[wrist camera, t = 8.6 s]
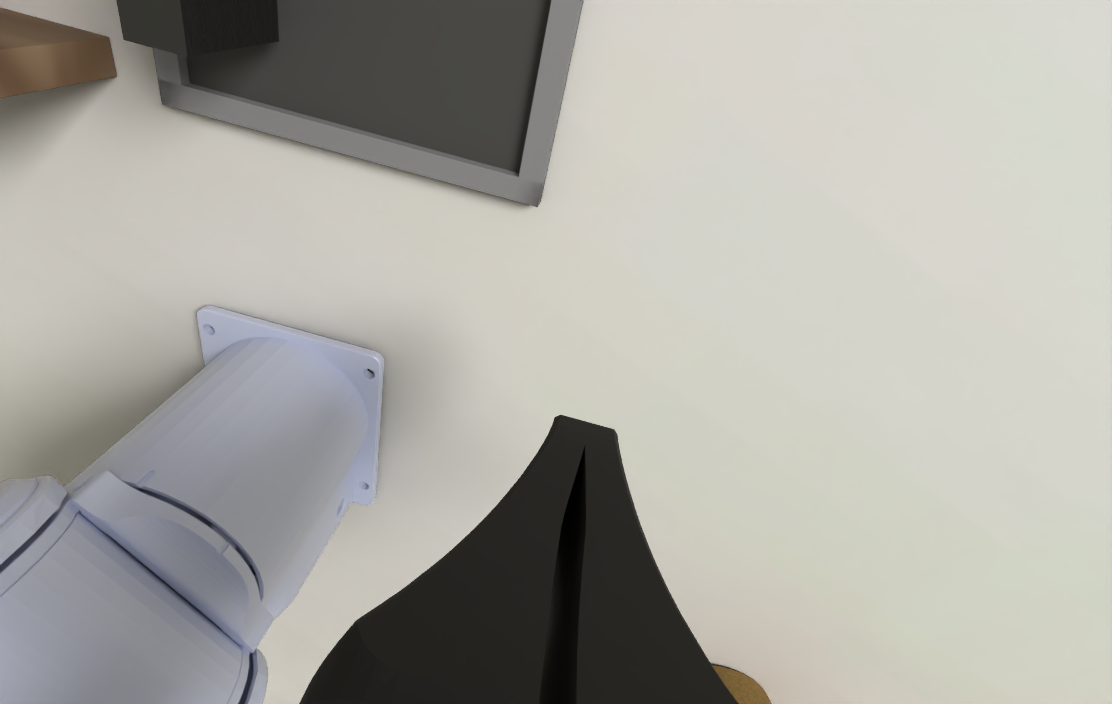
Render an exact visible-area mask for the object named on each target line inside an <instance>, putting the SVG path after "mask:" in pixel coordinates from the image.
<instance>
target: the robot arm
mask: <svg viewBox="0 0 1112 704" xmlns="http://www.w3.org/2000/svg"><path fill="white" fill-rule="evenodd" d="M197 321H198V328H199V334H200V340H201V347H202V353H203V359H204V366H205V368H203V369H202V370H201V371H200V372H199V373H198V374H196V375H195V376H194V377H193V378H192V379H190V380H189V381H188V382H187V383H186V384H185V385H183V386H182V387H181V388H180V389H179V390H178V391H176V392H175V393H174V394H173V395H172V396H171V397H169V398H168V399H167V400H166V401H165V402H163V403H162V404H161V405H160V406H159V407H158V408H156V409H155V410H154V411H153V412H152V413H151V414H149V415H148V416H147V417H146V418H145V419H144V420H142V421H141V422H140V423H139V424H138V425H136V426H135V427H134V428H133V429H132V430H131V431H129V432H128V433H127V434H126V435H125V436H124V437H122V438H121V439H120V440H119V441H118V442H117V443H115V444H114V445H113V446H112V447H111V448H110V449H108V450H107V451H106V452H105V453H104V454H102V455H101V456H100V457H99V458H98V459H97V460H95V461H94V462H93V463H92V464H91V465H90V466H88V467H87V468H86V469H85V470H84V471H83V472H81V473H80V474H79V475H78V476H77V477H75V478H74V479H73V480H72V481H71V482H70V483H68V484H67V485H65V486H62V485H61V484H60V483H59V482H58V481H57V480H56V479H55V478H53V477H51V476H39V477H36V478H15V479H8V480H5V481H3V482H0V704H262V703H263V700H264V697H265V693H266V687H267V682H268V667H267V662H266V659H265V657H264V656H263V654H262V653H261V651H260V650H258V649H257V646H258V645H259V643H260V641H261V640H262V638H263V636H264V635H265V633H266V631H267V630H268V628H269V627H270V625H271V623H272V622H273V620H274V619H275V618H276V617H278V616H279V615H280V614H281V613H282V612H283V611H284V610H285V609H286V608H287V607H288V606H289V605H290V604H291V602H292V601H293V600H294V598H295V597H296V595H297V594H298V592H299V590H300V589H301V587H302V585H303V584H304V582H305V580H306V578H307V577H308V575H309V573H310V572H311V570H312V568H313V567H314V565H315V563H316V562H317V560H318V558H319V557H320V555H321V553H322V552H323V550H324V548H325V546H326V545H327V543H328V541H329V540H330V538H331V536H332V535H333V533H334V531H335V530H336V528H337V526H338V525H339V523H340V521H341V520H342V518H343V516H344V514H345V513H346V511H347V509H348V508H349V506H350V504H351V503H352V502H353V503H357V504H360V505H365V506H368V505H371V504H373V502H374V500H375V498H376V487H377V471H378V455H379V439H380V423H381V407H382V391H383V375H384V359H383V358H382V356H381V355H380V354H379V353H378V352H375V351H373V350H369V349H366V348H362V347H359V346H355V345H351V344H348V343H344V342H341V341H337V340H333V339H330V338H326V337H322V336H319V335H315V334H312V333H308V332H304V331H301V330H297V329H294V328H290V327H286V326H283V325H279V324H275V323H272V322H268V321H265V320H261V319H257V318H254V317H250V316H246V315H243V314H239V313H236V312H232V311H228V310H225V309H221V308H218V307H214V306H209V305H207V306H204V307H202V308H201V309H200V310H199V311H198V312H197ZM210 326H212V327H213V328H214V329H212V328H211V327H210ZM367 369H370V370H372V371H373V372H374V374H372V373H370V372H369V371H368V370H367ZM299 704H739V703H738V702H737V701H736V699H735V698H734V697H733V695H732V694H731V693H730V691H729V690H728V689H727V687H726V686H725V684H724V683H723V681H722V680H721V678H720V677H719V675H718V674H717V672H716V671H715V669H714V668H713V666H712V665H711V663H710V662H709V660H708V659H707V657H706V655H705V654H704V652H703V650H702V649H701V647H700V645H699V644H698V642H697V640H696V639H695V637H694V635H693V633H692V632H691V630H690V628H689V627H688V625H687V623H686V622H685V620H684V618H683V616H682V615H681V613H680V611H679V609H678V607H677V605H676V604H675V602H674V600H673V598H672V596H671V594H670V592H669V590H668V588H667V586H666V584H665V582H664V580H663V577H662V575H661V573H660V571H659V569H658V567H657V565H656V562H655V560H654V558H653V555H652V553H651V550H650V548H649V546H648V543H647V540H646V538H645V535H644V533H643V530H642V527H641V525H640V522H639V519H638V516H637V513H636V510H635V507H634V503H633V500H632V497H631V494H630V491H629V487H628V484H627V480H626V476H625V472H624V468H623V464H622V459H621V455H620V450H619V444H618V436H617V433H616V432H615V430H614V429H611V428H607V427H603V426H600V425H596V424H592V423H589V422H585V421H581V420H578V419H574V418H570V417H567V416H563V415H559V416H557V417H555V418H554V422H553V425H552V427H551V429H550V431H549V434H548V435H547V437H546V439H545V441H544V443H543V444H542V446H541V448H540V449H539V451H538V453H537V454H536V456H535V457H534V458H533V460H532V461H531V463H530V464H529V466H528V467H527V468H526V470H525V471H524V473H523V474H522V475H521V477H520V478H519V479H518V480H517V482H516V483H515V484H514V485H513V487H512V488H511V489H510V490H509V491H508V493H507V494H506V495H505V496H504V497H503V499H502V500H501V501H500V502H499V503H498V504H497V506H496V507H495V508H494V509H493V510H492V511H491V512H490V513H489V514H488V515H487V516H486V517H485V518H484V519H483V520H482V521H481V522H480V523H479V524H478V525H477V527H476V528H475V529H474V530H472V531H471V532H470V533H469V534H468V535H467V536H466V537H465V538H464V539H463V540H462V541H461V542H460V543H459V544H457V545H456V546H455V547H454V548H453V549H452V550H451V551H450V552H449V553H447V554H446V555H445V556H444V557H443V558H442V559H440V560H439V561H438V562H437V563H436V564H434V565H433V566H432V567H430V568H429V569H428V570H427V571H425V572H424V573H423V574H421V575H420V576H419V577H418V578H416V579H415V580H414V581H413V582H411V583H410V584H409V585H407V586H406V587H405V588H403V589H402V590H401V591H399V592H398V593H396V594H395V595H393V596H392V597H390V598H389V599H388V600H386V601H385V602H383V603H382V604H380V605H379V606H377V607H376V608H374V609H373V610H371V611H370V612H368V613H367V614H365V615H364V616H362V617H361V618H359V619H358V620H356V621H355V623H354V624H353V625H352V626H351V627H350V628H349V630H348V631H347V632H346V633H345V634H344V636H343V637H342V638H341V639H340V640H339V641H338V643H337V644H336V645H335V647H334V648H333V649H332V650H331V652H330V653H329V654H328V656H327V657H326V658H325V660H324V661H323V663H322V664H321V666H320V667H319V669H318V670H317V672H316V674H315V675H314V677H313V678H312V680H311V682H310V684H309V685H308V687H307V689H306V691H305V693H304V695H303V697H302V699H301V701H300V703H299Z"/></svg>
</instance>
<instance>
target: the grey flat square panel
mask: <svg viewBox="0 0 1112 704" xmlns="http://www.w3.org/2000/svg"><path fill="white" fill-rule="evenodd" d="M582 5H583V0H277V9H278V30H279V42H273V43H267V44H261V45H255V46H249V47H243V48H238V49H232V50H226V51H220V52H214V53H208V54H203V55H197V56H191V57H185V56H182V55H178V54H174V53H171V52H167V51H163V50H160V49H156V48H153V52H154V58H155V64H156V70H157V77H158V83H159V89H160V95H161V102H162V104H163V105H166V106H170V107H174V108H177V109H181V110H185V111H188V112H192V113H196V114H199V115H203V116H207V117H210V118H214V119H218V120H221V121H225V122H229V123H232V124H236V125H239V126H243V127H247V128H250V129H254V130H258V131H261V132H265V133H269V134H272V135H276V136H280V137H283V138H287V139H291V140H294V141H298V142H302V143H305V144H309V145H313V146H316V147H320V148H324V149H327V150H331V151H334V152H338V153H342V154H345V155H349V156H353V157H356V158H360V159H364V160H367V161H371V162H375V163H378V164H382V165H386V166H389V167H393V168H397V169H400V170H404V171H408V172H411V173H415V174H419V175H422V176H426V177H429V178H433V179H437V180H440V181H444V182H448V183H451V184H455V185H459V186H462V187H466V188H470V189H473V190H477V191H481V192H484V193H488V194H492V195H495V196H499V197H503V198H506V199H510V200H514V201H517V202H521V203H524V204H528V205H532V206H535V207H538V205H539V204H540V202H541V198H542V193H543V189H544V184H545V179H546V174H547V170H548V165H549V160H550V156H551V151H552V146H553V141H554V137H555V132H556V127H557V123H558V118H559V113H560V109H561V104H562V99H563V94H564V90H565V85H566V80H567V76H568V71H569V66H570V61H571V57H572V52H573V47H574V43H575V38H576V33H577V29H578V24H579V19H580V14H581V10H582Z"/></svg>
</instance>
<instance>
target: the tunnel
mask: <svg viewBox="0 0 1112 704" xmlns="http://www.w3.org/2000/svg"><path fill="white" fill-rule="evenodd" d="M116 76H117V75H116V70H115V65H114V60H113V55H112V50H111V45H110V40H109V37H106V36H102V35H99V34H95V33H91V32H88V31H84V30H80V29H77V28H73V27H69V26H66V25H62V24H58V23H55V22H51V21H47V20H44V19H40V18H36V17H33V16H29V15H25V14H22V13H18V12H14V11H11V10H7V9H3V8H0V98H2V97H8V96H13V95H18V94H24V93H29V92H35V91H40V90H46V89H51V88H56V87H62V86H67V85H73V84H78V83H84V82H89V81H94V80H100V79H105V78H111V77H116Z"/></svg>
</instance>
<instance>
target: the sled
mask: <svg viewBox="0 0 1112 704" xmlns="http://www.w3.org/2000/svg"><path fill="white" fill-rule="evenodd" d="M117 6H118V11H119V16H120V22H121V27H122V33H123V38H124V40H127V41H130V42H134V43H138V44H141V45H145V46H149V47H152V48H156V49H160V50H163V51H167V52H171V53H174V54H178V55H182V56H185V57H191V56H197V55H203V54H208V53H214V52H220V51H226V50H232V49H238V48H243V47H249V46H255V45H261V44H267V43H273V42H279V30H278V9H277V0H117Z"/></svg>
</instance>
